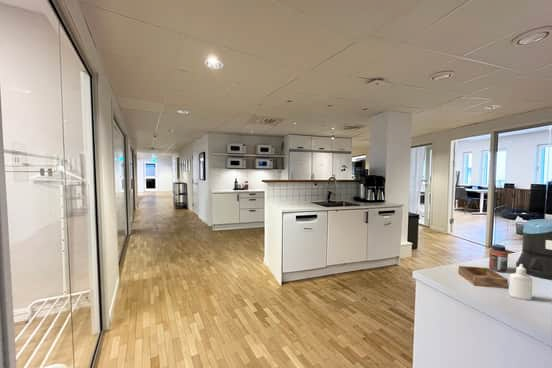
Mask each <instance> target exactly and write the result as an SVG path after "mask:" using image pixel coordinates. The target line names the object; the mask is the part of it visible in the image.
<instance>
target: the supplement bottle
mask: <svg viewBox="0 0 552 368" xmlns="http://www.w3.org/2000/svg"><path fill="white" fill-rule="evenodd" d="M508 258H509V253H508V251H507V250H506V246H505V245H502V244H497V243H495V244H492V248H490V250H489V261H488V268H489V269H491V270H493V271H494V272H496V273H507V272H508V261H509V260H508Z"/></svg>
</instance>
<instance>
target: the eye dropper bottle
mask: <svg viewBox="0 0 552 368" xmlns="http://www.w3.org/2000/svg"><path fill="white" fill-rule="evenodd" d="M508 295H509V296H510V297H512V298H514V299H518V300H523V301H530V300H532V297H533V296H532V295H533V278H532V277H530V275H528V274H526V269H525V268H524V267H523V264H520V265H519V267H516V266H515V272H514V273H510V274H509V279H508Z"/></svg>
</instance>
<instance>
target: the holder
mask: <svg viewBox="0 0 552 368" xmlns="http://www.w3.org/2000/svg"><path fill="white" fill-rule="evenodd" d="M457 272H458V275H460V276H461V277H462V278H464V279H465V280H466V281H467V280H468V281H467V282H469V284H470V283H471V285H473V286H475V287H485V288H486V287H487V288H499V289H500V288H501V289H508V285H509V279H508V278H507V277H505V276H503V275H501V274H499V272H497V271H494V270H492V269H490V268H489V267H484V266H483V267H482V266H467V265H466V266H465V265H458V271H457Z"/></svg>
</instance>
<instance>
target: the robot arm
mask: <svg viewBox="0 0 552 368" xmlns="http://www.w3.org/2000/svg"><path fill="white" fill-rule="evenodd" d="M520 264H523V267H524V268H525V269H526V275H528V276H532V277H536V278H541V279H546V280H552V219H548V218H546V219H545V218H544V219H543V218H542V219H541V218H539V219H538V218H537V219H535V218H534V219H529V220H526V221H525V222H524V224H523V229H522V249H521V254H520V256H519V257H518V259H517V261H516V262H515V268H516V267H519V265H520Z"/></svg>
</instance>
